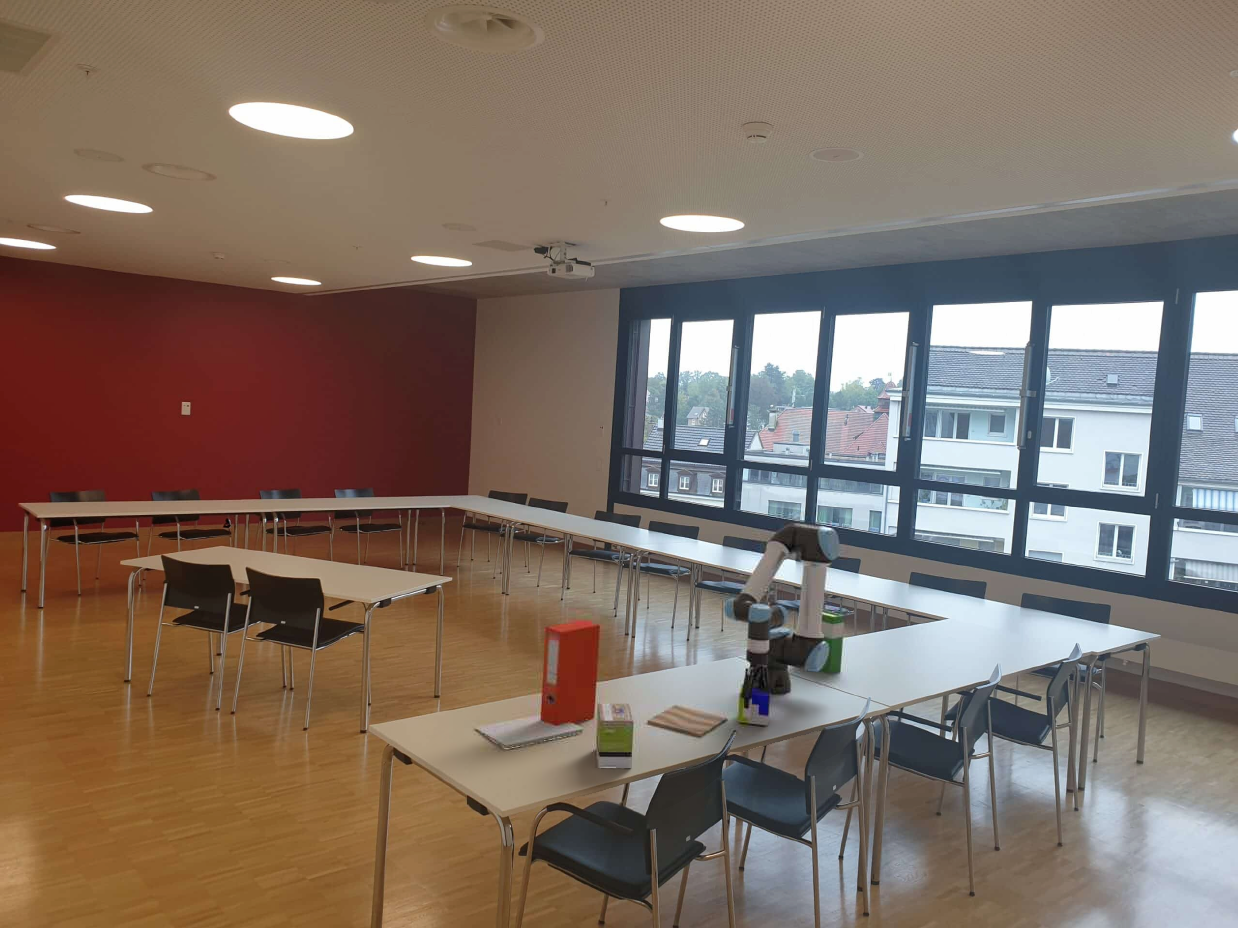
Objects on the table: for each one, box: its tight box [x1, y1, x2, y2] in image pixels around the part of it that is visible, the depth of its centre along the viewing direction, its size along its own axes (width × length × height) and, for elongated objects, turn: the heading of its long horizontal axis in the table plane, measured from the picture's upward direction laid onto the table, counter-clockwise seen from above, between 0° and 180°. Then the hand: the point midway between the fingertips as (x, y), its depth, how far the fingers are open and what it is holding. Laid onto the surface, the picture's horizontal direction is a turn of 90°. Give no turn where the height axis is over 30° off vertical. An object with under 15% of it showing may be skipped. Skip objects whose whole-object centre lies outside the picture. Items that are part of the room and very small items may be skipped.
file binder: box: [540, 619, 601, 726], centre depth 292 cm, size 8×17×32 cm, turn 136°
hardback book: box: [818, 609, 845, 675], centre depth 371 cm, size 18×7×24 cm, turn 40°
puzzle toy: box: [737, 683, 771, 726], centre depth 302 cm, size 10×10×10 cm
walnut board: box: [647, 704, 728, 738], centre depth 298 cm, size 20×20×1 cm
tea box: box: [595, 702, 634, 769], centre depth 262 cm, size 15×10×15 cm, turn 5°
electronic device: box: [474, 714, 584, 748], centre depth 281 cm, size 29×20×2 cm
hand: (753, 711), depth 302 cm, fingers closed on puzzle toy, 12 cm apart
